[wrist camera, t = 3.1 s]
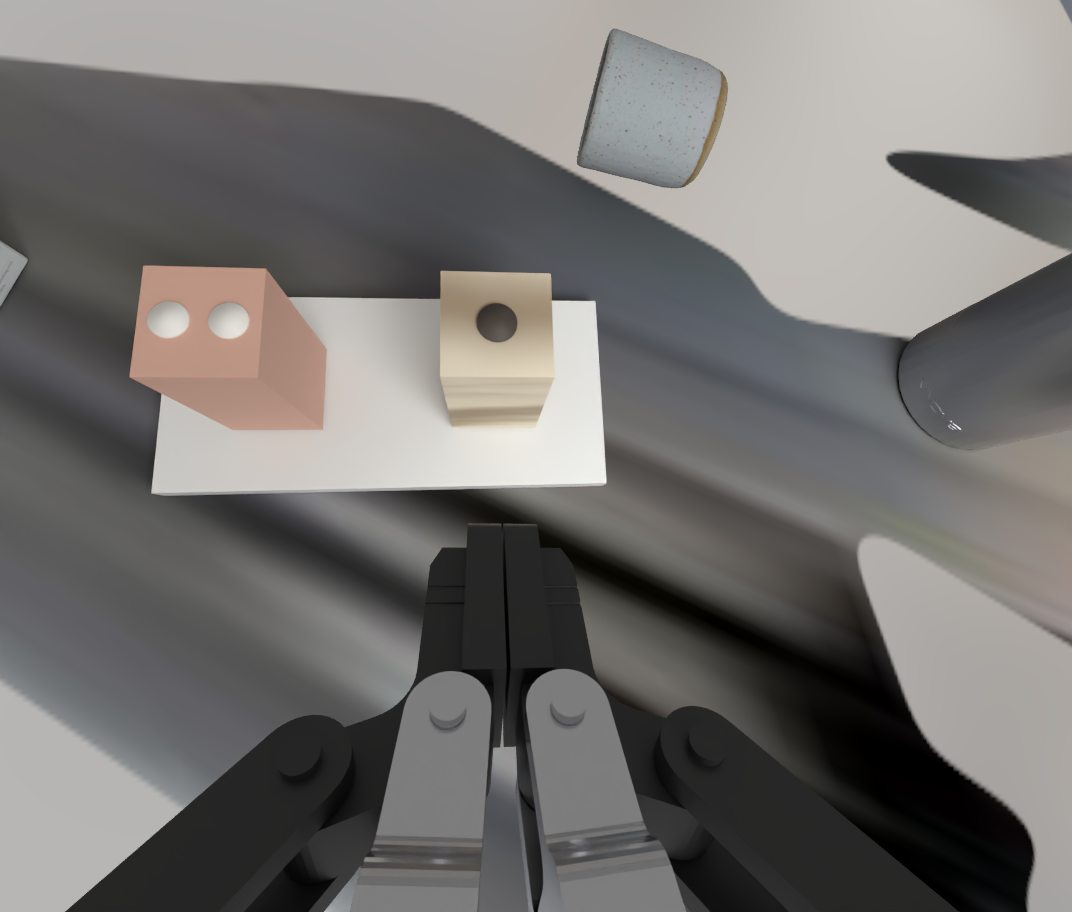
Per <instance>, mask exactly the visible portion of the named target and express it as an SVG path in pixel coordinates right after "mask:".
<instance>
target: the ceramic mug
mask: <svg viewBox="0 0 1072 912" xmlns="http://www.w3.org/2000/svg"><path fill="white" fill-rule="evenodd" d="M727 91H728V86H727V81H726V77H725V76H724V74H723V73H722V72H721V71H720V70H718V69H717V68H715V67H714V66H712V65H711V64H709V63H707V62H705V61H703V60H701V59H698V58H695V57H692V56H689V55H686V54H683V53H680V52H677V51H674V50H671V49H668V48H666V47H663V46H661V45H658V44H656V43H653V42H650V41H648V40H645V39H643V38H640V37H637V36H635V35H632V34H629V33H627V32H623V31H621V30H618V29H612V30H611V31H610V33H609V36H608V38H607V41H606V44H605V48H604V51H603V55H602V58H601V62H600V66H599V70H598V74H597V78H596V82H595V85H594V89H593V94H592V97H591V101H590V105H589V109H588V113H587V117H586V121H585V126H584V130H583V135H582V137H581V142H580V147H579V151H578V156H577V164H578V165H579V166H581V167H583V168H588V169H593V170H597V171H601V172H605V173H608V174H612V175H617V176H620V177H625V178H630V179H634V180H638V181H642V182H646V183H649V184H652V185H656V186H661V187H668V188H681V187H685V186H686V185H688V184H689V183H690V182H692V181H693V180H694V179H695V178H696V176H697V175H698V174H699V172H700V170H701V169H702V167H703V165H704V163H705V161H706V159H707V157H708V155H709V153H710V151H711V149H712V146H713V144H714V142H715V139H716V136H717V133H718V131H719V128H720V124H721V121H722V118H723V115H724V110H725V106H726V101H727Z"/></svg>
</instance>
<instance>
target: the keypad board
mask: <svg viewBox="0 0 1072 912" xmlns="http://www.w3.org/2000/svg"><path fill="white" fill-rule="evenodd" d="M288 298H289V300H290V301H291V302H292V304H293V305H294V306H295V308H296V309H297V310H298V312H299V313H300V314H301V316H302V317H303V318H304V320H305V321H306V322H307V324H308V325H309V326H310V328H311V329H312V330H313V332H314V333H315V334H316V336H317V337H318V338H319V340H320V341H321V342H322V344H323V345H324V346H325V348H326V349H327V353H326V373H325V393H324V412H323V430H231V429H230V428H228V427H226V426H224V425H222V424H220V423H218V422H216V421H214V420H212V419H210V418H208V417H206V416H204V415H202V414H200V413H198V412H196V411H194V410H193V409H191V408H189V407H187V406H185V405H183V404H181V403H179V402H177V401H175V400H173V399H171V398H169V397H167V396H165V395H163V394H162V396H161V406H160V415H159V425H158V434H157V444H156V454H155V463H154V473H153V482H152V492H151V493H153V494H158V495H163V496H176V495H220V494H264V493H308V492H352V491H397V490H441V489H485V488H529V487H573V486H603V485H604V484H606V468H605V451H604V435H603V419H602V403H601V386H600V370H599V354H598V337H597V321H596V305H595V301H552V319H553V346H554V373H555V378H554V380H553V383H552V385H551V388H550V391H549V393H548V396H547V398H546V401H545V404H544V406H543V409H542V412H541V414H540V417H539V419H538V422H537V425H536V427H477V428H453V427H452V423H451V419H450V415H449V411H448V407H447V403H446V399H445V395H444V391H443V387H442V383H441V379H440V302H441V299H389V298H313V297H288Z"/></svg>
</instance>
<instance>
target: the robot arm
mask: <svg viewBox="0 0 1072 912" xmlns="http://www.w3.org/2000/svg"><path fill="white" fill-rule="evenodd" d="M898 376H899V385H900V390H901V394H902V397H903V400H904V403H905V404H906V406H907V408H908V410H909V412H910V414H911V415H912V417H913V418H914V419H915V420H916V422H917V423H918V424H919V425H920V426H921V427H922V428H923V429H924V430H925V431H926V432H927V433H928V434H930V435H931V436H932V437H934V438H936V439H937V440H939V441H941V442H942V443H944V444H947V445H950V446H952V447H955V448H960V449H967V450H975V449H984V448H989V447H993V446H998V445H1002V444H1007V443H1011V442H1016V441H1020V440H1025V439H1029V438H1034V437H1039V436H1044V435H1048V434H1053V433H1057V432H1062V431H1066V430H1071V429H1072V253H1071V254H1069V255H1067V256H1065V257H1063V258H1061V259H1060V260H1058V261H1056V262H1054V263H1052V264H1050V265H1048V266H1046V267H1044V268H1042V269H1040V270H1038V271H1037V272H1035V273H1033V274H1031V275H1029V276H1027V277H1025V278H1023V279H1021V280H1019V281H1017V282H1015V283H1014V284H1012V285H1010V286H1008V287H1006V288H1004V289H1002V290H1000V291H998V292H996V293H994V294H992V295H991V296H989V297H987V298H985V299H983V300H981V301H979V302H977V303H975V304H973V305H971V306H969V307H967V308H965V309H964V310H961V311H960V312H958V313H956V314H954V315H952V316H950V317H948V318H946V319H945V320H943V321H941V322H939V323H937V324H935V325H933V326H932V327H929V328H928V329H926V330H924V331H922V332H920V333H918V334H917V335H916V336H915V337H914V338H913V339H912V340H911V341H910V342H909V343H908V345H907V347H906V348H905V350H904V351H903V354H902V357H901V360H900V364H899V375H898ZM502 719H503V737H504V747H514V746H516V756H517V781H516V801H517V810H518V819H519V827H520V836H521V845H522V854H523V863H524V871H525V880H526V889H527V898H528V906H529V912H686V910H685V907H684V904H685V905H686V906H687V907H688V909H689V910H690V911H691V912H958V911H957V910H956V909H955V908H954V907H952V906H951V905H950V904H949V903H948V902H946V901H945V900H944V899H943V898H941V897H940V896H939V895H938V894H937V893H935V892H934V891H933V890H932V889H931V888H929V887H928V886H927V885H926V884H925V883H923V882H922V881H921V880H920V879H919V878H917V877H916V876H915V875H914V874H913V873H911V872H910V871H909V870H908V869H907V868H905V867H904V866H903V865H902V864H900V863H899V862H898V861H897V860H896V859H894V858H893V857H892V856H891V855H890V854H888V853H887V852H886V851H885V850H884V849H882V848H881V847H880V846H879V845H878V844H876V843H875V842H874V841H873V840H872V839H870V838H869V837H868V836H867V835H866V834H864V833H863V832H862V831H861V830H859V829H858V828H857V827H856V826H855V825H853V824H852V823H851V822H850V821H849V820H847V819H846V818H845V817H844V816H843V815H841V814H840V813H839V812H838V811H837V810H835V809H834V808H833V807H832V806H831V805H829V804H828V803H827V802H826V801H825V800H823V799H822V798H821V797H820V796H819V795H817V794H816V793H815V792H814V791H812V790H811V789H810V788H809V787H808V786H806V785H805V784H804V783H803V782H802V781H800V780H799V779H798V778H797V777H796V776H794V775H793V774H792V773H791V772H790V771H788V770H787V769H786V768H785V767H784V766H782V765H781V764H780V763H779V762H778V761H776V760H775V759H774V758H773V757H771V756H770V755H769V754H768V753H767V752H765V751H764V750H763V749H762V748H761V747H759V746H758V745H757V744H756V743H755V742H753V741H752V740H751V739H750V738H749V737H747V736H746V735H745V734H744V733H743V732H741V731H740V730H739V729H738V728H737V727H735V726H734V725H733V724H732V723H730V722H729V721H728V720H727V719H725V718H724V717H723V716H721V715H719V714H718V713H716V712H714V711H712V710H709V709H707V708H703V707H697V706H687V707H682V708H679V709H677V710H675V711H673V712H672V713H671V714H669V715H668V717H667V718H663V717H660V716H656V715H653V714H649V713H646V712H643V711H639V710H636V709H633V708H630V707H628V706H626V705H624V704H622V703H620V702H619V701H617V700H616V699H614V698H613V697H612V696H611V695H610V694H608V693H607V692H606V690H605V689H604V688H603V687H602V686H601V684H600V683H599V681H598V679H597V677H596V675H595V672H594V669H593V664H592V659H591V654H590V649H589V644H588V639H587V634H586V628H585V623H584V618H583V613H582V608H581V606H580V598H579V592H578V589H577V582H576V577H575V572H574V567H573V564H572V563H571V562H570V560H569V559H568V558H567V556H566V555H565V554H564V552H563V551H562V550H561V548H540V544H539V536H538V528H537V525H536V524H504V525H503V535H502V532H501V524H468V533H467V548H442V549H441V550H440V552H439V553H438V555H437V556H436V558H435V559H434V561H433V562H432V563H431V565H430V571H429V579H428V590H427V596H426V606H425V612H424V620H423V628H422V636H421V644H420V652H419V660H418V668H417V674H416V678H415V681H414V683H413V685H412V687H411V689H410V691H409V692H408V693H407V695H406V696H405V697H404V698H403V699H402V700H401V701H400V702H399V703H398V704H397V705H395V706H394V707H393V708H392V709H390V710H388V711H387V712H385V713H383V714H381V715H378V716H376V717H373V718H370V719H368V720H365V721H362V722H359V723H356V724H353V725H350V726H347V727H343V726H342V724H341V723H339V722H338V721H336V720H335V719H332V718H330V717H327V716H322V715H310V716H303V717H300V718H296V719H294V720H291V721H289V722H287V723H285V724H283V725H282V726H280V727H279V728H277V729H276V730H275V731H273V732H272V733H271V734H270V735H268V736H267V737H266V738H265V739H264V740H263V741H262V742H260V743H259V744H258V745H257V746H256V747H255V748H253V749H252V750H251V751H250V752H249V753H248V754H247V755H245V756H244V757H243V758H242V759H241V760H240V761H238V762H237V763H236V764H235V765H234V766H233V767H232V768H230V769H229V770H228V771H227V772H226V773H225V774H223V775H222V776H221V777H220V778H219V779H218V780H217V781H215V782H214V783H213V784H212V785H211V786H210V787H208V788H207V789H206V790H205V791H204V792H203V793H202V794H200V795H199V796H198V797H197V798H196V799H195V800H193V801H192V802H191V803H190V804H189V805H188V806H187V807H185V808H184V809H183V810H182V811H181V812H180V813H178V815H176V816H175V817H174V818H173V819H172V820H171V821H169V822H168V823H167V824H166V825H165V826H163V827H162V828H161V829H160V830H159V831H158V832H157V833H155V834H154V835H153V836H152V837H151V838H150V839H149V840H147V841H146V842H145V843H144V844H143V845H142V846H140V847H139V848H138V849H137V850H136V851H135V852H134V853H132V854H131V855H130V856H129V857H128V858H127V859H125V861H123V862H122V863H121V864H120V865H119V866H117V867H116V868H115V869H114V870H113V871H112V872H111V873H110V874H108V875H107V876H106V877H105V878H104V879H102V880H101V881H100V882H99V883H98V884H97V885H95V886H94V887H93V888H92V889H91V890H90V891H89V892H87V893H86V894H85V895H84V896H83V897H82V898H81V899H79V900H78V901H77V902H76V903H75V904H74V905H72V906H71V907H70V908H69V909H68V910H67V911H65V912H324V911H325V910H326V908H327V907H328V906H329V905H330V903H331V902H332V901H333V900H334V898H335V897H336V896H337V895H338V893H339V892H340V891H341V890H342V889H343V887H344V886H345V885H346V884H347V882H348V881H349V880H350V879H351V877H352V876H353V875H354V874H355V872H356V871H357V869H358V868H359V867H360V866H362V867H361V870H360V873H359V876H358V880H357V884H356V887H355V892H354V896H353V900H352V904H351V909H350V912H478V906H479V892H480V877H481V863H482V849H483V834H484V820H485V805H486V798H487V795H488V793H489V789H490V784H491V770H492V756H493V748H494V747H500V743H501V731H502Z"/></svg>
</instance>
